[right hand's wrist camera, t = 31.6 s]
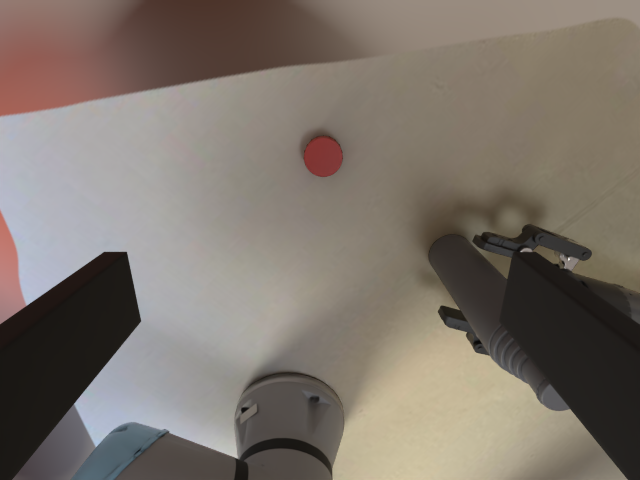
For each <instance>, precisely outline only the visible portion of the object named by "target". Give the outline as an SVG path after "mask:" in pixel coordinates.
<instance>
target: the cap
mask: <svg viewBox="0 0 640 480" xmlns="http://www.w3.org/2000/svg"><path fill="white" fill-rule="evenodd" d="M304 153H305V154H304V161H305V165H306V167H307V168H308V170H309V171H310V172H311V173H313V174H314V175H317V176H320V177H326V176H330V175H332V174H334V173H335V172H336V171H337V170H338V169H339V168H340V166H341V163H342V159H343V157H342V150H341V148H340V145H339V144H338V143H337V142H336V140H334V139H332V138H330V137H327V136H319V137H316V138H314V139H313V140H311V141H310V142H309V144H307V147H306V150H305V151H304Z"/></svg>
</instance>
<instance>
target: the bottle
mask: <svg viewBox="0 0 640 480" xmlns="http://www.w3.org/2000/svg"><path fill="white" fill-rule="evenodd" d="M429 261H430V264H431V265H432V267H433V269H434V270H435V272H436V273H437V275H438V276H439V278H440V279H441V281H442V282H443V284H444V285H445V287H446V289H447V290H448V292H449V293H450V295H451V296H452V298H453V299H454V301H455V302H456V304H457V306H458V307H459V309H460V310H461V312H462V313H463V315H464V316H465V318H466V319H467V321H468V323H469V324H470V326H471V327H472V329H473V330H474V332H475V333H476V335H477V336H478V338H479V339H480V341H481V343H482V344H483V346H484V347H485V349H486V350H487V352H488V353H489V355H490V356H491V358H492V359H493V360H494V361H495V362H496V363H497V364H498V365H499V366H500V367H501V368H502V369H504V370H506V371H507V372H509V373H510V374H512V375H514V376H515V377H517V378H519V379H521V380H522V381H523V382H525V383H527V384H529V385H530V386H531V388H532V389H533V391H534V392H535V393H536V396H537V398H538V400H539V401H540V403H542V404H543V405H544V406H546V407H547V408H549V409H551V410H555V411H563V410H568V409H570V408H569V407H568V405H567V404H566V403H565V402H564V401H563V399H562V398H561V397H560V396H559V394H558V393H557V392H556V391H555V390H554V388H553V387H552V386H551V385H550V383H549V382H548V381H547V380H546V378H545V377H544V376H543V375H542V374H541V372H540V371H539V370H538V369H537V367H536V366H535V365H534V364H533V363H532V361H531V360H530V359H529V358H528V356H527V355H526V354H525V353H524V351H523V350H522V349H521V348H520V347H519V345H518V344H517V343H516V342H515V340H514V339H513V338H512V337H511V336H510V334H509V333H508V332H507V331H506V329H505V328H504V327H503V326H502V324H501V323H500V322H499V318H500V314H501V309H502V304H503V299H504V294H505V289H506V284H507V279H506V278H505V277H504V276H503V275H502V274H501V273H500V272H499V271H498V270H497V269H496V268H495V267H494V266H493V265H492V264H491V263H490V262H489V261H488V260H487V259H486V258H485V257H484V256H483V255H482V254H481V253H480V252H479V251H477V250H476V249H475V248H474V247H473V246H472V245H471V244H470V243H469V242H468V241H467V240H466V239H465V238H464V237H462V236H459V235H446V236H443V237H441V238H439V239H438V240H437V241H436V242H435V243H434V244H433V245H432V247H431V249H430V252H429Z"/></svg>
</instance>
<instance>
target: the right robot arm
mask: <svg viewBox="0 0 640 480" xmlns="http://www.w3.org/2000/svg"><path fill="white" fill-rule="evenodd" d="M140 322H141V318H140V314H139V309H138V304H137V299H136V294H135V289H134V284H133V280H132V275H131V270H130V265H129V260H128V255H127V252H103V253H102V254H101V255H99V256H98V257H96V258H95V259H93V260H92V261H91V262H89V263H88V264H86V265H85V266H83V267H82V268H81V269H79V270H78V271H76V272H75V273H73V274H72V275H70V276H69V277H68V278H66V279H65V280H63V281H62V282H60V283H59V284H58V285H56V286H55V287H53V288H52V289H50V290H49V291H47V292H46V293H45V294H43V295H42V296H40V297H39V298H37V299H36V300H35V301H33V302H32V303H30V304H29V305H27V306H26V307H25V308H23V309H22V310H20V311H19V312H17V313H16V314H14V315H13V316H12V317H10V318H9V319H7V320H6V321H4V322H3V323H2V324H0V480H12V479H13V478H14V477H15V475H16V474H17V473H18V472H19V470H20V469H21V468H22V467H23V466H24V464H25V463H26V462H27V461H28V459H29V458H30V457H31V456H32V455H33V453H34V452H35V451H36V450H37V448H38V447H39V446H40V445H41V443H42V442H43V441H44V440H45V439H46V437H47V436H48V435H49V434H50V432H51V431H52V430H53V429H54V427H55V426H56V425H57V424H58V423H59V421H60V420H61V419H62V418H63V416H64V415H65V414H66V413H67V412H68V410H69V409H70V408H71V407H72V405H73V404H74V403H75V402H76V401H77V399H78V398H79V397H80V396H81V394H82V393H83V392H84V391H85V390H86V388H87V387H88V386H89V385H90V383H91V382H92V381H93V380H94V378H95V377H96V376H97V375H98V374H99V372H100V371H101V370H102V369H103V367H104V366H105V365H106V364H107V363H108V361H109V360H110V359H111V358H112V356H113V355H114V354H115V353H116V351H117V350H118V349H119V348H120V347H121V345H122V344H123V343H124V342H125V340H126V339H127V338H128V337H129V336H130V334H131V333H132V332H133V331H134V329H135V328H136V327H137V326H138V324H139V323H140ZM499 322H500V323H501V324H502V326H503V327H504V328H505V329H506V331H507V332H508V333H509V334H510V336H511V337H512V338H513V339H514V340H515V342H516V343H517V344H518V345H519V347H520V348H521V349H522V350H523V351H524V353H525V354H526V355H527V356H528V358H529V359H530V360H531V361H532V363H533V364H534V365H535V366H536V367H537V369H538V370H539V371H540V372H541V374H542V375H543V376H544V377H545V378H546V380H547V381H548V382H549V383H550V385H551V386H552V387H553V388H554V390H555V391H556V392H557V393H558V394H559V396H560V397H561V398H562V399H563V401H564V402H565V403H566V404H567V405H568V407H569V408H570V409H571V410H572V412H573V413H574V414H575V415H576V417H577V418H578V419H579V420H580V421H581V423H582V424H583V425H584V426H585V428H586V429H587V430H588V431H589V432H590V434H591V435H592V436H593V437H594V439H595V440H596V441H597V442H598V444H599V445H600V446H601V447H602V448H603V450H604V451H605V452H606V453H607V455H608V456H609V457H610V458H611V459H612V461H613V462H614V463H615V464H616V466H617V467H618V468H619V469H620V471H621V472H622V473H623V474H624V475H625V477H626V478H627V479H628V480H640V324H638V323H637V322H636V321H634V320H633V319H631V318H630V317H628V316H627V315H626V314H624V313H623V312H621V311H620V310H618V309H617V308H615V307H614V306H613V305H611V304H610V303H608V302H607V301H605V300H604V299H603V298H601V297H600V296H598V295H597V294H595V293H594V292H593V291H591V290H590V289H588V288H587V287H585V286H584V285H582V284H581V283H580V282H578V281H577V280H575V279H574V278H572V277H571V276H570V275H568V274H567V273H565V272H564V271H562V270H561V269H559V268H558V267H557V266H555V265H554V264H552V263H551V262H549V261H548V260H547V259H545V258H544V257H542V256H541V255H539V254H538V253H537V252H513V255H512V260H511V265H510V270H509V275H508V280H507V284H506V289H505V294H504V299H503V304H502V309H501V314H500V318H499ZM234 426H235V436H236V446H237V455H238V459H236V458H234V457H232V456H229V455H226V454H224V453H221V452H218V451H216V450H213V449H210V448H208V447H205V446H202V445H200V444H197V443H194V442H191V441H189V440H186V439H183V438H181V437H178V436H175V435H173V434H170V433H169V431H168V430H166V429H164V430H159V429H156V428H152V427H149V426H146V425H142V424H139V423H135V422H130V423H125V424H123V425H120V426H118V427H117V428H115V429H114V430H113V431H112V432H111V433H109V434H108V435H107V436H106V437H105V438H104V439H103V441H102V442H101V443H100V444H99V445H98V446H97V447H96V448H95V450H94V451H93V452H92V453H91V455H90V456H89V457H88V458H87V459H86V461H85V462H84V463H83V464H82V466H81V467H80V468H79V470H78V471H77V472H76V474H75V475H74V476H73V478H72V479H71V480H332V468H333V464H334V461H335V458H336V455H337V451H338V448H339V445H340V442H341V439H342V435H343V429H344V413H343V407H342V404H341V402H340V400H339V398H338V396H337V395H336V394H335V392H334V391H333V390H332V389H331V388H329V387H328V386H327V385H325V384H324V383H322V382H321V381H319V380H317V379H314V378H312V377H309V376H305V375H300V374H290V373H286V374H276V375H272V376H268V377H265V378H263V379H260V380H259V381H257V382H255V383H254V384H252V385H251V386H250V387H248V388H247V389H246V391H245V392H244V393H243V394H242V396H241V398H240V400H239V403H238V406H237V409H236V413H235V424H234Z"/></svg>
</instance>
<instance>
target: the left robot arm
mask: <svg viewBox="0 0 640 480" xmlns="http://www.w3.org/2000/svg"><path fill="white" fill-rule="evenodd" d="M472 242H473V243H474V244H476V245H477V246H478V247H479V248H481V249H483V250H487V251H490V252H494V253H497V254H501V255H504V256H508V257H511V258H512V255H513V252H533V250H534V249H535V248H536V247H537V246H538V245H541V246H544V247H547V248H549V249H552V250H554V251H555V252H554V254H555V256H556V257H558V258H559V264H554V265H555V266H557V267H558V268H559V269H561V270H562V271H564V272H565V273H567V274H568V275H570V276H571V277H572V278H574V279H575V280H577V281H578V282H580V283H581V284H582V285H584V286H585V287H587V288H588V289H590V290H591V291H593V292H594V293H595V294H597V295H598V296H600V297H601V298H603V299H604V300H605V301H607V302H608V303H610V304H611V305H613V306H614V307H615V308H617V309H618V310H620V311H621V312H623V313H624V314H626V315H627V316H628V317H630V318H631V319H633V320H634V321H636V322H637V323H638V324H640V293H638V292H635V291H633V290H630V289H627V288H624V287H623V286H620V285H617V284H609V283H606V282H602V281H599V280H595V279H592V278H588V277H585V276H582V275H578V274H575V273H573V272H572V270H573V268H574V267H575V265H576V264H577V262H578V261H579V260H583V261H584V260H587V259H589V258H590V257H591V255H592V252H591V250H589V249H588V248H586V247H584V246H582V245H581V244H579V243H577V242H575V241H574V240H571V239H568V238H566V237H563V236H560V235H558V234H555V233H552V232H550V231H547V230H544V229H542V228H539V227H536V226H534V225H531V224H528V225H526V226H524V227H523V229H522V233H521V234H520V235H519V236H518V237H517V238H513V239H512V238H508V237H504V236H501V235H497V234H494V233H491V232H483V234H482V236H479V235H475V237H474V239H473V241H472ZM438 313H439V315H440V317H441V319H442V320H443V321H444V323H445V325H446V326H448V327H450V328H453V329H458V330H461V331H465V332H467V334H466V337H467V339H468V340H469V341H470V343H471V345H472V346H473V349H474V350H475V352H476V353H480V354H485V355H489V353H488V352H487V350H486V349H485V347H484V346H483V344H482V343H481V341H480V339H479V338H478V336H477V335H476V333H475V332H474V330H473V329H472V327H471V326H470V324H469V323H468V321H467V319H466V318H465V316H464V315H463V313H462V312H461V310H457V309H453V308H450V307H446V306H440V308H439V310H438Z"/></svg>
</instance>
